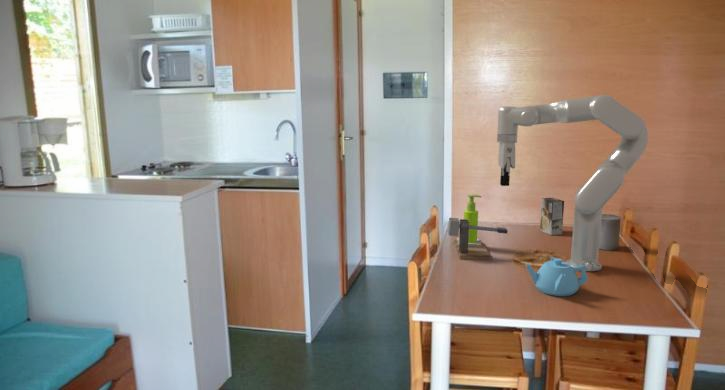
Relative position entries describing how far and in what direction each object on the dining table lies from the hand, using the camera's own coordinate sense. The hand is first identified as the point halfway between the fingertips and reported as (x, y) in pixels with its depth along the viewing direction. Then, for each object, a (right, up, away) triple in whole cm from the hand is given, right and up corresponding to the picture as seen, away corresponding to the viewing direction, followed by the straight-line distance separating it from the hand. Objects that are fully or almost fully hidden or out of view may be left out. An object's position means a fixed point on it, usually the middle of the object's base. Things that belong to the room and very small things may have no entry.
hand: (504, 185), depth 211 cm
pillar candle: (+48, -27, +18) cm, 58 cm away
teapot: (+9, -36, -32) cm, 48 cm away
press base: (-11, -27, +13) cm, 32 cm away
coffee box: (+33, -22, +43) cm, 58 cm away
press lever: (-10, -20, +4) cm, 23 cm away
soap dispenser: (-9, -24, +18) cm, 31 cm away
